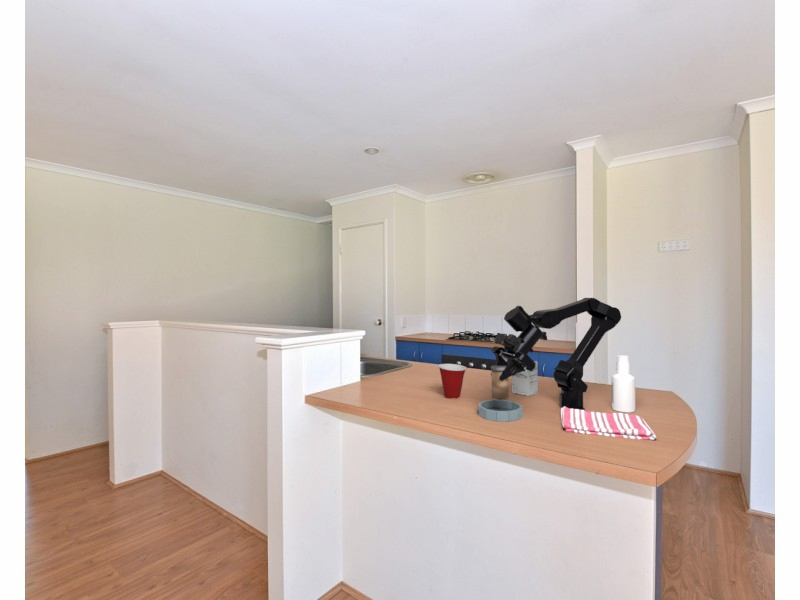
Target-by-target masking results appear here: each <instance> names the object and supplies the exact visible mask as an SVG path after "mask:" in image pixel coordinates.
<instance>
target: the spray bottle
mask: <svg viewBox="0 0 800 600" xmlns="http://www.w3.org/2000/svg"><path fill="white" fill-rule="evenodd" d="M616 357H617V358H616V362H615V364H616V367H615V373H614V374H612V375H611V409H612V410H614V411H616V412H618V413H624V414H630V413H634V412H636V377H635V376H634V375H632V374H631V363H630V356H629V355H625V354H617V356H616Z"/></svg>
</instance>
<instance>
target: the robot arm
mask: <svg viewBox="0 0 800 600" xmlns="http://www.w3.org/2000/svg"><path fill="white" fill-rule="evenodd" d="M585 312H586V313H587V315H589V316H591V318H590V326H589V328H588V330H587V331H586V333H585V334H584V335H583V337H582V339H581V341H580V342H579V343H578V345H577V346H576V348H575V350H574V351H573V353H572V354H571V356H570V357H569V358H568V359H567V360H562V359H560V360H559V362H558V364H557V366H556V367H555V368H553V369H554V372H553V379H554V381H555V382H556V385H557V387H558V388H559V389H560V393H559V406H561V408H563V407H564V406H565V407H567V408H569V409H572V408H573V409H579V410H585V411H586V409H585V407H584V393H587V390H588V387H589V386H588V384H586V382H585V381H583V379H582V378H583V376H584V366H585V365H586V364H587V362H588V360H589V358H590V357H591V356H592V354H593V352H594V351H595V349H596V348H597V346H598V345H599V344H600V342H601V340H602V338H603V337H604V335H605V334H606V333H607V332H609V331H610V330H612V329H614V328H615V327H617V325H618V324H619V323H620V322H621V321H622V320H621V318H622V314H621V311H620V309H619V308H618V307H614V306H612V305H609V304H607V303H605V302H602V301H601V300H599V299H597V298H595V297H584V298H582V299H580V300H577V301H574V302H570V303H568V304H565V305H562V306H558V307H556V308H551V309H550V308H549V309H541V310H536V311H534V312H533V313H532V314H528V313H527V312H526V311H525V309H524V308H523V307H522V306H521V305H516V306H515V307H514V308H512V309H511V310H509V311H508V312H506V313H505V315H504V318H503V319H504V321H505V322H506V323H507V324H508V325H509V326H510V327H511V328H512V330H513V331H515V332H518V333H519V332H520V333H519V335H518V336H517V335H515V334H512V333H511V334H510V333H509V334H508V335H507V334H502V333H497V335H496V336H495V339H494V343H495V344H498V345H501V346H498V345H495V346H493V347H492V349H490V351H491V352H492V354H493V355H494V356H495V361H494V365H505V366H506V368H505V369H504V371H503V372H502V374H501V376H500V377H499V379H500V380H504V379H506V378H508V379H509V378H510V377H512V376H513V375H515V374H517V373H520V372H522V371H525V369H524V368H525V367H526V369H527V370H528V371H533V370H534V368H535V367H536V365H535V362H534V361H535V360H533V358H531V357H530V355H528V354H529V353H530V354H531V353H533V352H534V349H533V348H534V346H535V345H536V344H537V343H538V342H539V340H543V341H548V335H547V331H542V330H541V329H547V330H550V329H553V328H555V327H557V326H558V325H560V324H561V322H562V321H564V320H567V319H569V318H571V317H574V316H577V315H580V314H583V313H585ZM540 328H541V329H540ZM490 376H491V377H492V374H491V373H490Z"/></svg>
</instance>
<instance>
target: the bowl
mask: <svg viewBox="0 0 800 600" xmlns="http://www.w3.org/2000/svg"><path fill="white" fill-rule="evenodd" d="M477 405H478V408H477V411H478V417H480V416H481V417H480V418H482V417H483V418H482V419H484V418H485V419H484V420H489V421H493V420H494V421H493V422H505V421H509V422H514V420H515V421H518V420H520V419H522V418H523V417H524V416H523V410H524V409H523V406H522V404H520V403H518V402H516V401H513V400H508V399H506V400H497V399H488V400H487V399H486V400H482V401H480V402H479V403H477Z"/></svg>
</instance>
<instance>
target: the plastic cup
mask: <svg viewBox="0 0 800 600" xmlns="http://www.w3.org/2000/svg"><path fill="white" fill-rule="evenodd" d="M438 368H439V373H440V378H441V383H442V385H441V386H442V388H443V395H444V398H446V399H451V398H455V399H459V398H460V397H461V394H462V393H461V392H462V387H463V381H464V376H465V373H466V370H467V369H468V368H467V366H464V365H460V364H456V363H440V364H438ZM458 397H459V398H458Z"/></svg>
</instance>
